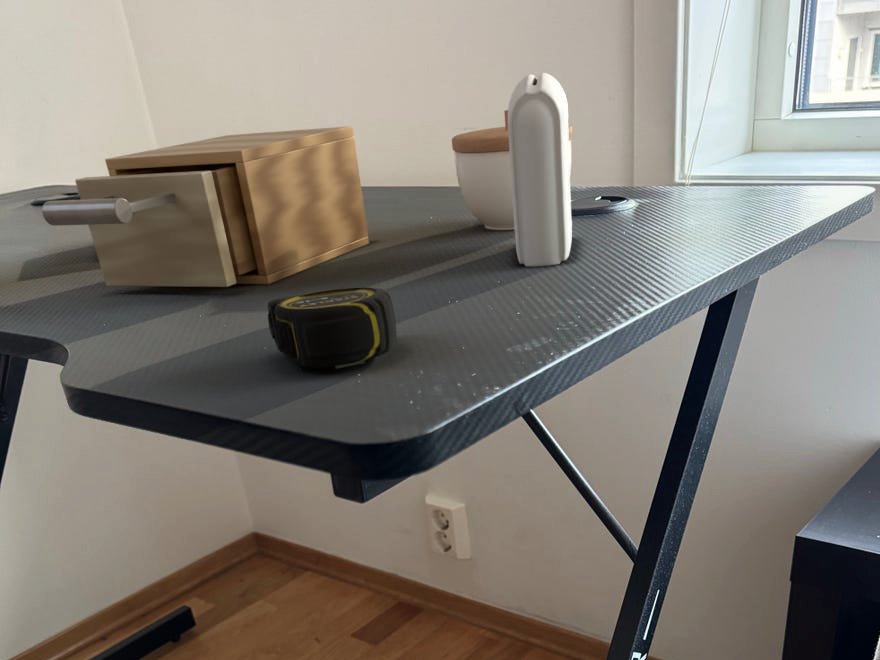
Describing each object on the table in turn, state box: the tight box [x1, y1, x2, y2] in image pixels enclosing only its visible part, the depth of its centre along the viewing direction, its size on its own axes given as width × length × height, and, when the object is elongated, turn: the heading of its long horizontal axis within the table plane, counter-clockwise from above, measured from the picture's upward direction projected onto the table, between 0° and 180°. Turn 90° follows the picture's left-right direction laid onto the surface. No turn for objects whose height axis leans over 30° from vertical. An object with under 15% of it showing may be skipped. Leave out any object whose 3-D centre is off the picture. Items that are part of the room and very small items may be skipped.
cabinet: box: [104, 125, 370, 285], centre depth 79 cm, size 16×14×10 cm
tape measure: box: [267, 286, 397, 370], centre depth 52 cm, size 7×7×4 cm
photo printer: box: [507, 72, 573, 268], centre depth 70 cm, size 10×4×12 cm, turn 174°
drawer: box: [41, 163, 257, 288], centre depth 73 cm, size 21×12×8 cm, turn 155°
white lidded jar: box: [451, 109, 573, 231], centre depth 84 cm, size 11×11×9 cm
